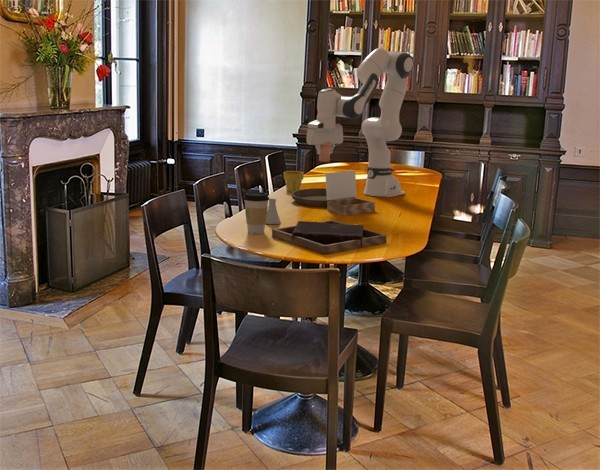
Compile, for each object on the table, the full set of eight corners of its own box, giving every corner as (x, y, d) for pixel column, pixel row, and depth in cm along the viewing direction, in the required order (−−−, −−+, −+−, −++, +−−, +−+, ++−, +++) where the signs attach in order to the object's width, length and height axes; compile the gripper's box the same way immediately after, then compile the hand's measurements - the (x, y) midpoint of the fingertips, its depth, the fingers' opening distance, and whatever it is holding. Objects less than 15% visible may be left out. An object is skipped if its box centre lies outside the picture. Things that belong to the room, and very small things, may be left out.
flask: (262, 221, 276) (263, 197, 273) (280, 221, 276) (280, 197, 274) (263, 225, 269) (263, 200, 266) (281, 225, 269) (281, 200, 267)
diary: (361, 249, 237) (362, 235, 236) (291, 245, 240) (292, 232, 239) (363, 236, 255) (363, 223, 254) (298, 232, 258) (298, 220, 257)
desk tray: (332, 227, 268) (332, 220, 267) (386, 243, 245) (386, 235, 245) (272, 236, 250) (272, 229, 249) (324, 254, 227) (324, 246, 226)
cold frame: (352, 206, 312) (353, 182, 309) (374, 212, 301) (376, 186, 298) (323, 210, 301) (324, 185, 298) (345, 216, 290) (346, 190, 287)
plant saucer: (309, 211, 300) (309, 201, 299) (279, 199, 326) (279, 189, 325) (367, 206, 314) (368, 197, 313) (334, 195, 341) (334, 186, 339)
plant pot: (300, 193, 343) (301, 174, 340) (281, 191, 345) (281, 173, 342) (304, 189, 352) (305, 171, 350) (285, 188, 354) (286, 170, 352)
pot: (324, 160, 319) (325, 141, 317) (333, 161, 315) (333, 142, 313) (315, 160, 316) (316, 141, 314) (323, 162, 311) (324, 142, 309)
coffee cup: (253, 228, 262) (254, 190, 259) (273, 232, 257) (274, 193, 254) (237, 232, 255) (238, 193, 251) (258, 236, 249) (258, 197, 246)
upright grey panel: (356, 196, 308) (355, 196, 309) (355, 170, 307) (354, 170, 307) (327, 200, 297) (326, 200, 298) (326, 173, 296) (325, 173, 296)
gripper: (337, 123, 320) (336, 152, 323) (304, 124, 308) (303, 154, 311) (346, 124, 315) (345, 153, 319) (313, 125, 303) (312, 155, 306)
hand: (324, 153), depth 315 cm, fingers closed on pot, 5 cm apart
